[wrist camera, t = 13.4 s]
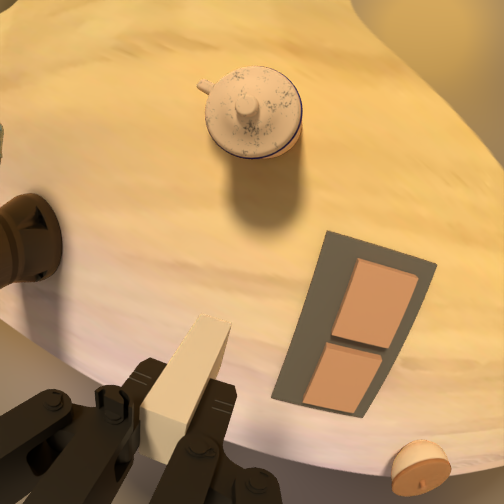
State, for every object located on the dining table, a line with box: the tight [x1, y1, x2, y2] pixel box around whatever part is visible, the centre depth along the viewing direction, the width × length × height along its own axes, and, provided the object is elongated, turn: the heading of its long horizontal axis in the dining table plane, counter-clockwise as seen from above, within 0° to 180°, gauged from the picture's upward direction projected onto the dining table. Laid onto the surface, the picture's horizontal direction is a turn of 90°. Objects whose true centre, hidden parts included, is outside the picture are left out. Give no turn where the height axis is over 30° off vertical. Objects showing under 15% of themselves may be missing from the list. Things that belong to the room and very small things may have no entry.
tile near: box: [331, 258, 418, 348], centre depth 37 cm, size 2×10×8 cm
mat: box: [271, 230, 437, 418], centre depth 40 cm, size 15×26×1 cm, turn 167°
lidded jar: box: [391, 440, 451, 496], centre depth 40 cm, size 11×11×9 cm
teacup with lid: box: [197, 66, 303, 159], centre depth 30 cm, size 12×9×12 cm
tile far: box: [303, 342, 382, 413], centre depth 41 cm, size 2×10×8 cm
